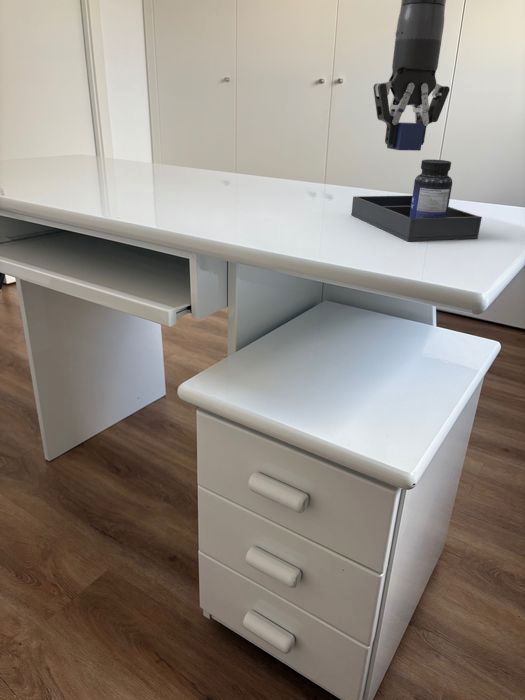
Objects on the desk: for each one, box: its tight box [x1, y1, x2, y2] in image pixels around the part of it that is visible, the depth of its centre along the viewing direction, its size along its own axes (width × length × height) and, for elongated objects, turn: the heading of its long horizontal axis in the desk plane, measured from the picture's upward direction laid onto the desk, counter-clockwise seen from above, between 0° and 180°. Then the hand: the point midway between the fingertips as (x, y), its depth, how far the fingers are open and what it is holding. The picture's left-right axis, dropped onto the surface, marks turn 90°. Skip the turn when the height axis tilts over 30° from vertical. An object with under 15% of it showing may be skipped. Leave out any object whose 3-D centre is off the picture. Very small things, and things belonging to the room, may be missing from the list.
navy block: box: [386, 121, 424, 152], centre depth 96 cm, size 4×4×4 cm
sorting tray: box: [350, 195, 483, 242], centre depth 97 cm, size 13×22×4 cm, turn 16°
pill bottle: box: [410, 159, 453, 219], centre depth 90 cm, size 6×6×11 cm
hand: (403, 147), depth 96 cm, fingers closed on navy block, 4 cm apart
